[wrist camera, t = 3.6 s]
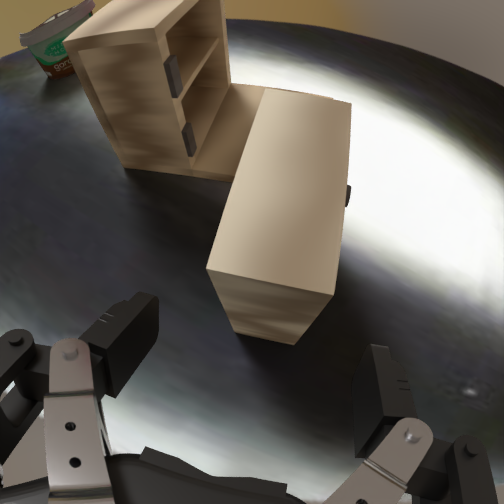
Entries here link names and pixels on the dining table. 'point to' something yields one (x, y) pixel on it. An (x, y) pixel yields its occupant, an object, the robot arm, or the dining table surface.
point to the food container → (56, 39)
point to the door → (284, 217)
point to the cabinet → (166, 86)
